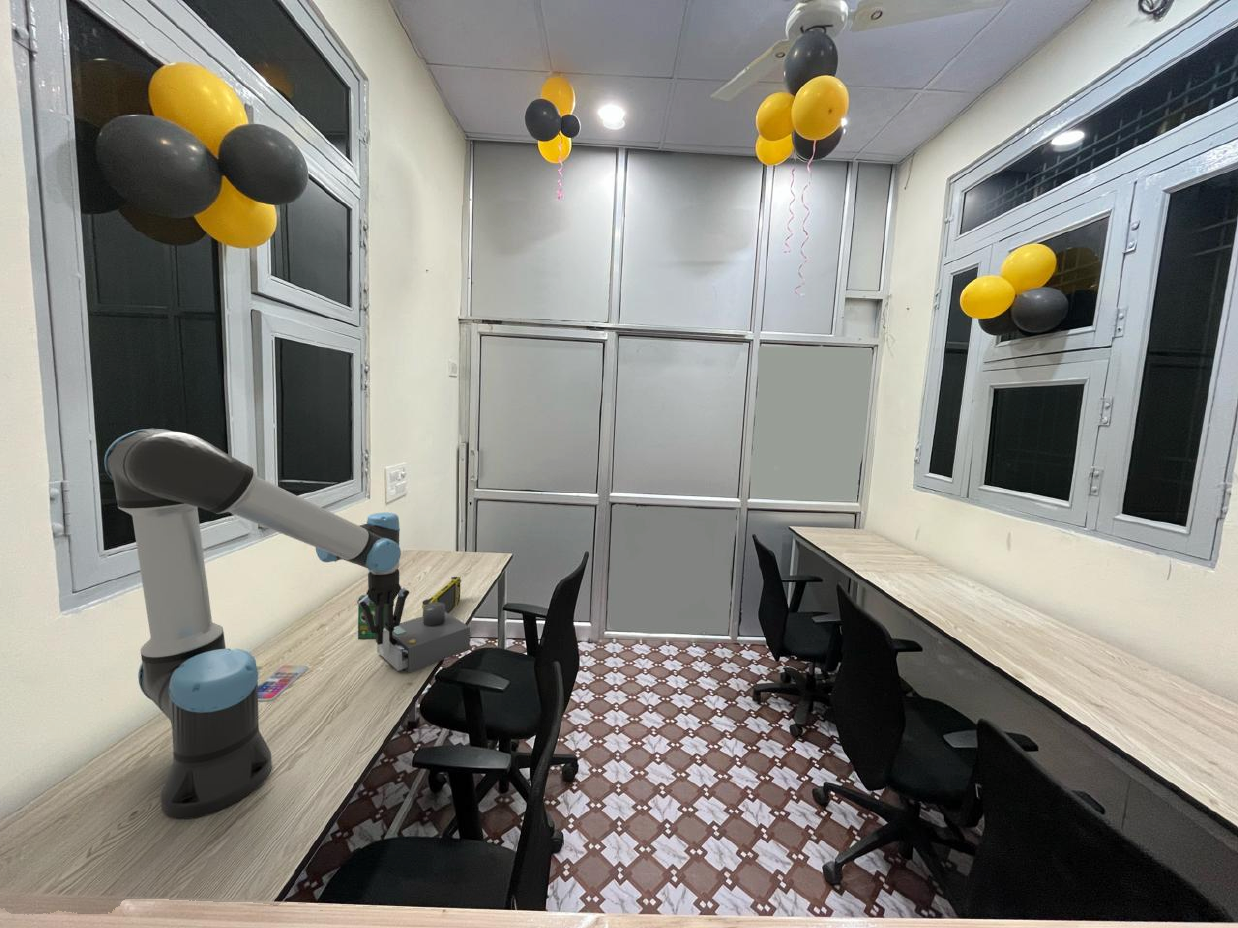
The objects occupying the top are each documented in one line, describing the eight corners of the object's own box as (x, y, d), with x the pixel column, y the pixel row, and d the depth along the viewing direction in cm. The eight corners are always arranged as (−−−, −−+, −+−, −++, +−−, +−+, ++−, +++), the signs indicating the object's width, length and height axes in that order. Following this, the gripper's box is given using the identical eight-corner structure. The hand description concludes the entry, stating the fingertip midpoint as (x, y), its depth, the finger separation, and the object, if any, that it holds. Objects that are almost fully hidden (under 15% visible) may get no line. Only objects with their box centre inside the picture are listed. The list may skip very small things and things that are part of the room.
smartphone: (311, 665, 121) (272, 699, 106) (311, 668, 121) (272, 703, 106) (282, 664, 121) (239, 698, 106) (282, 668, 121) (239, 702, 106)
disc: (402, 660, 123) (402, 654, 123) (389, 649, 128) (389, 643, 128) (432, 649, 129) (432, 643, 129) (418, 639, 135) (418, 633, 134)
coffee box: (388, 634, 141) (388, 594, 140) (385, 638, 138) (385, 597, 137) (361, 635, 140) (361, 594, 139) (357, 639, 137) (357, 598, 136)
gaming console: (432, 632, 144) (433, 602, 143) (420, 632, 144) (420, 602, 143) (463, 601, 169) (464, 575, 168) (452, 600, 169) (452, 575, 168)
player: (409, 672, 121) (409, 630, 120) (384, 650, 131) (384, 611, 130) (469, 649, 134) (470, 610, 133) (442, 631, 145) (443, 595, 144)
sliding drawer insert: (398, 670, 119) (398, 653, 119) (377, 651, 128) (377, 635, 128) (458, 647, 133) (458, 632, 132) (435, 631, 142) (435, 617, 141)
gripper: (363, 579, 114) (364, 667, 116) (414, 568, 123) (414, 649, 126) (352, 572, 118) (353, 656, 121) (402, 561, 128) (402, 640, 131)
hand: (384, 653), depth 123 cm, fingers closed
